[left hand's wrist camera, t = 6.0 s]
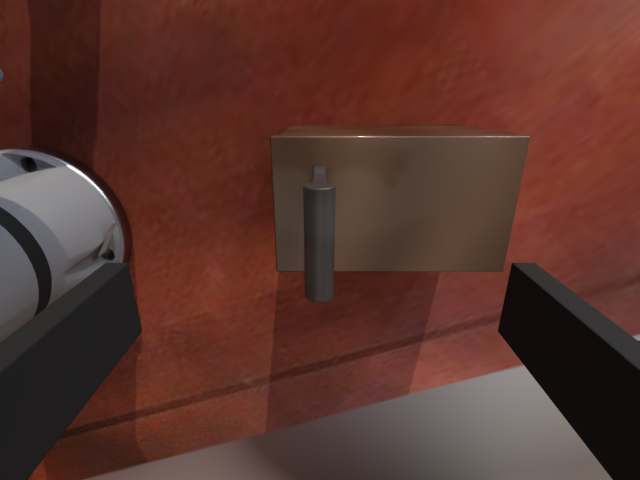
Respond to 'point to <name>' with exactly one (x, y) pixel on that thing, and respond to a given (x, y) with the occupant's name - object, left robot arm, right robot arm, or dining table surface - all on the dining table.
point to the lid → (393, 203)
